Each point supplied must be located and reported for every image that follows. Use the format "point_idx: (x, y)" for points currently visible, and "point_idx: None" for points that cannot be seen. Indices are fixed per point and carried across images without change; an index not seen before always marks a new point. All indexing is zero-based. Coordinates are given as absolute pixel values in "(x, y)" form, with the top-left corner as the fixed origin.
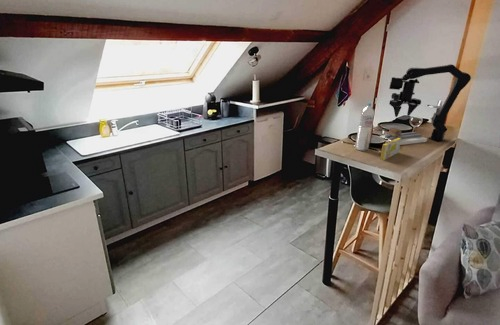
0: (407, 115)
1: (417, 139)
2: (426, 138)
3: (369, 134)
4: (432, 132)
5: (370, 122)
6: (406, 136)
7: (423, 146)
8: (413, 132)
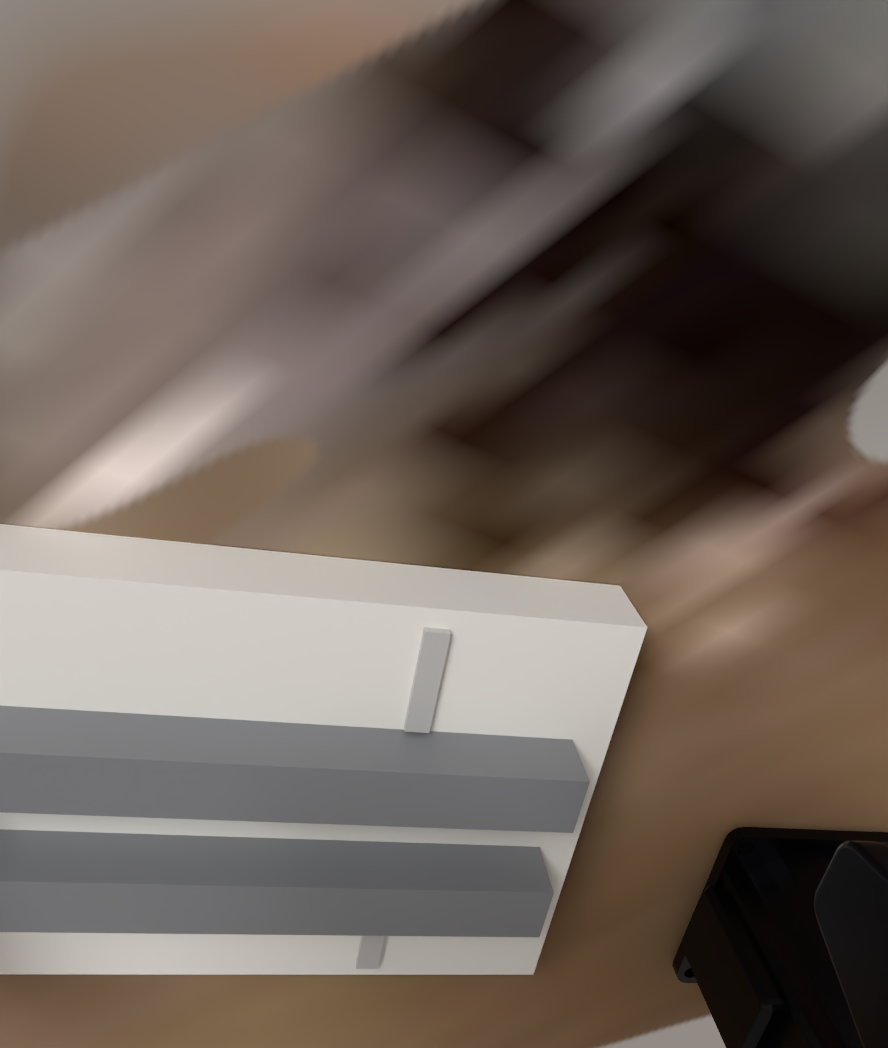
0: (839, 853)
1: (290, 967)
2: (519, 971)
3: None
4: (758, 1011)
5: None
6: (70, 926)
7: (235, 1036)
8: (509, 802)
